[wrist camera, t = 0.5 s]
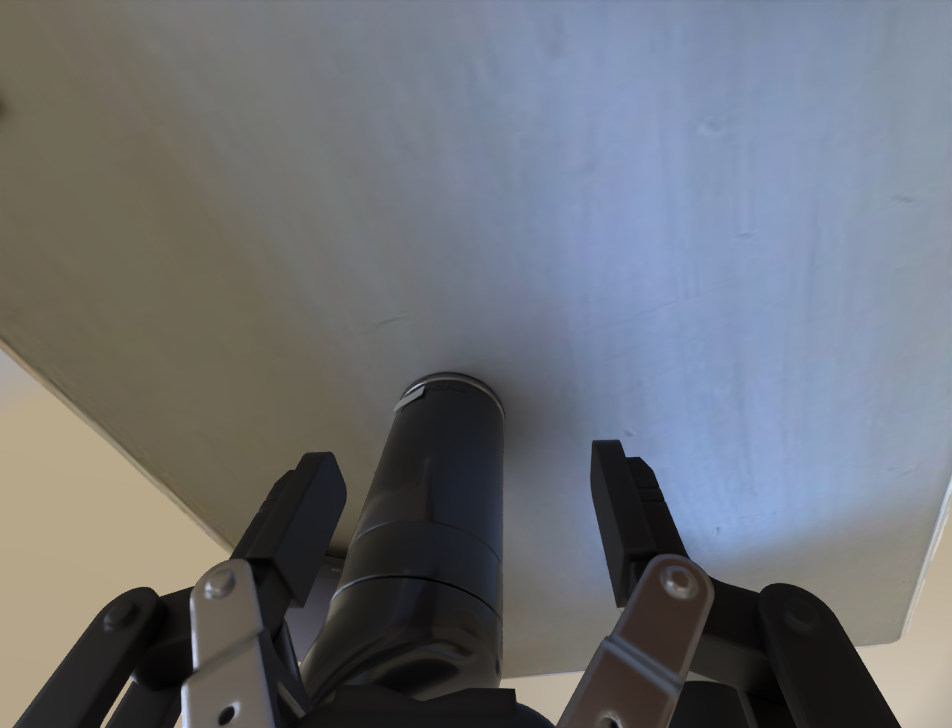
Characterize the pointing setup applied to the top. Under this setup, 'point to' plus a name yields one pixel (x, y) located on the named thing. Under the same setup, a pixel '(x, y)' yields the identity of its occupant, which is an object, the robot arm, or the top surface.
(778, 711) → the robot arm
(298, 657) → the bluetooth speaker
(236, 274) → the top surface
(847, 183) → the top surface
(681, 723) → the travel mug
